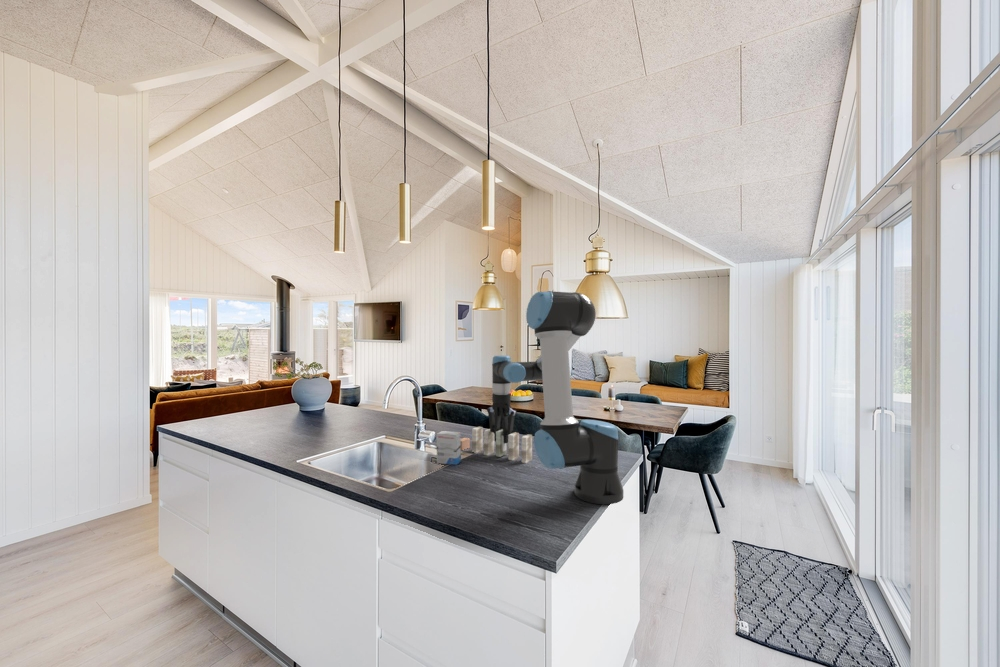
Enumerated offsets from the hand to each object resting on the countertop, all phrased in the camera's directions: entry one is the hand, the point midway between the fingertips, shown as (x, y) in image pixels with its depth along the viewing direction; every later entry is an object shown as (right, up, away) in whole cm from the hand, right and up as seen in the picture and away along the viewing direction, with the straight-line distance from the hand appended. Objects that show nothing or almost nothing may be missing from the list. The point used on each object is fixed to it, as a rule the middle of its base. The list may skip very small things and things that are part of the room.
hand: (501, 450), depth 170 cm
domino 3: (0, -2, 0) cm, 2 cm away
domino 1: (-10, -2, +6) cm, 12 cm away
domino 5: (+10, -3, -6) cm, 12 cm away
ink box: (-21, -3, -8) cm, 22 cm away
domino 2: (-5, -2, +3) cm, 6 cm away
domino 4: (+5, -3, -3) cm, 6 cm away
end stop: (-16, -2, +10) cm, 20 cm away
